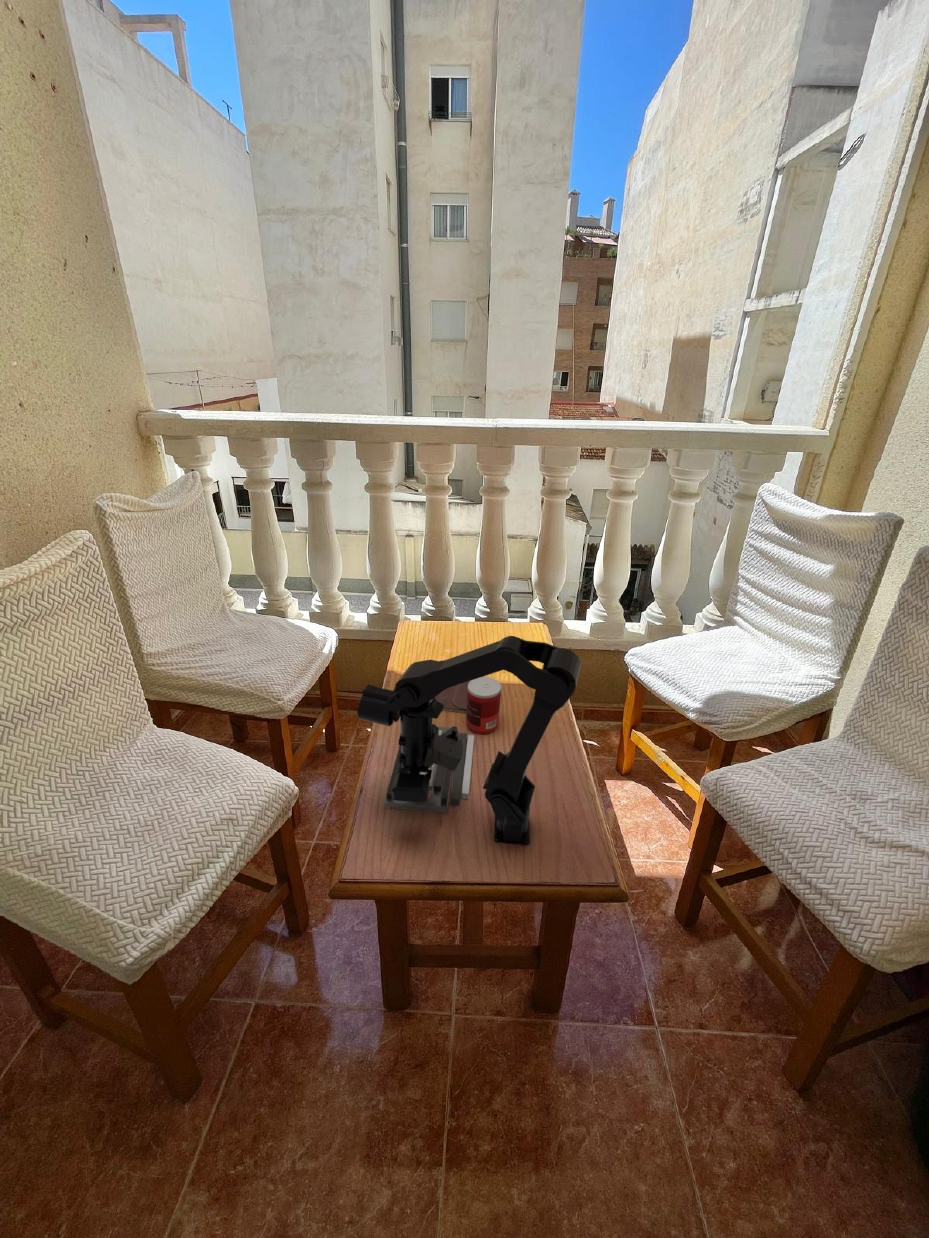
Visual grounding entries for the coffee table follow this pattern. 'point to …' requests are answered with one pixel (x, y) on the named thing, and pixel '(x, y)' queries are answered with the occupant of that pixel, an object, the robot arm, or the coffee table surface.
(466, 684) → the notebook
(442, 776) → the panel
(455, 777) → the long gray rectangular block
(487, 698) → the canned food
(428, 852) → the coffee table surface
